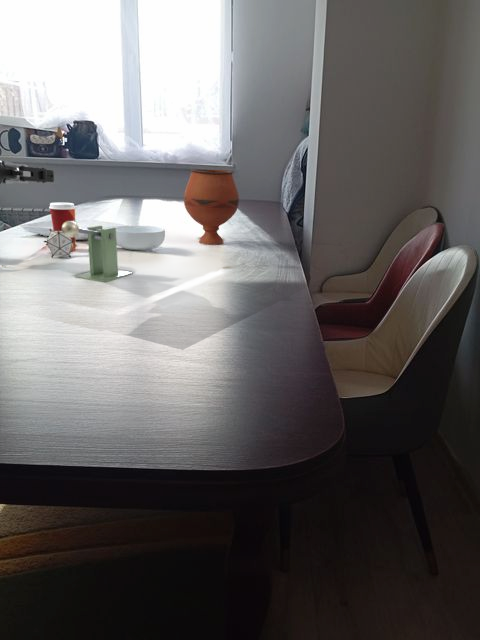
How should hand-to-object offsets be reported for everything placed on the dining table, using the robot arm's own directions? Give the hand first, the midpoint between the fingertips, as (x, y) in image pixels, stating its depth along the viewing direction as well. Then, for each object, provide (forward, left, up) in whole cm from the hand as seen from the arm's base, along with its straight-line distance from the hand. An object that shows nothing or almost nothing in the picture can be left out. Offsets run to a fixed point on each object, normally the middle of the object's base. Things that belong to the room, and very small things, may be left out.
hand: (35, 175), depth 103 cm
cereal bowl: (+15, +55, -25) cm, 62 cm away
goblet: (+39, +74, -25) cm, 87 cm away
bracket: (+10, +16, -25) cm, 31 cm away
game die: (-6, +42, -25) cm, 50 cm away
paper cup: (-7, +53, -25) cm, 59 cm away
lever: (+7, +11, -15) cm, 19 cm away
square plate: (-9, +82, -25) cm, 86 cm away
